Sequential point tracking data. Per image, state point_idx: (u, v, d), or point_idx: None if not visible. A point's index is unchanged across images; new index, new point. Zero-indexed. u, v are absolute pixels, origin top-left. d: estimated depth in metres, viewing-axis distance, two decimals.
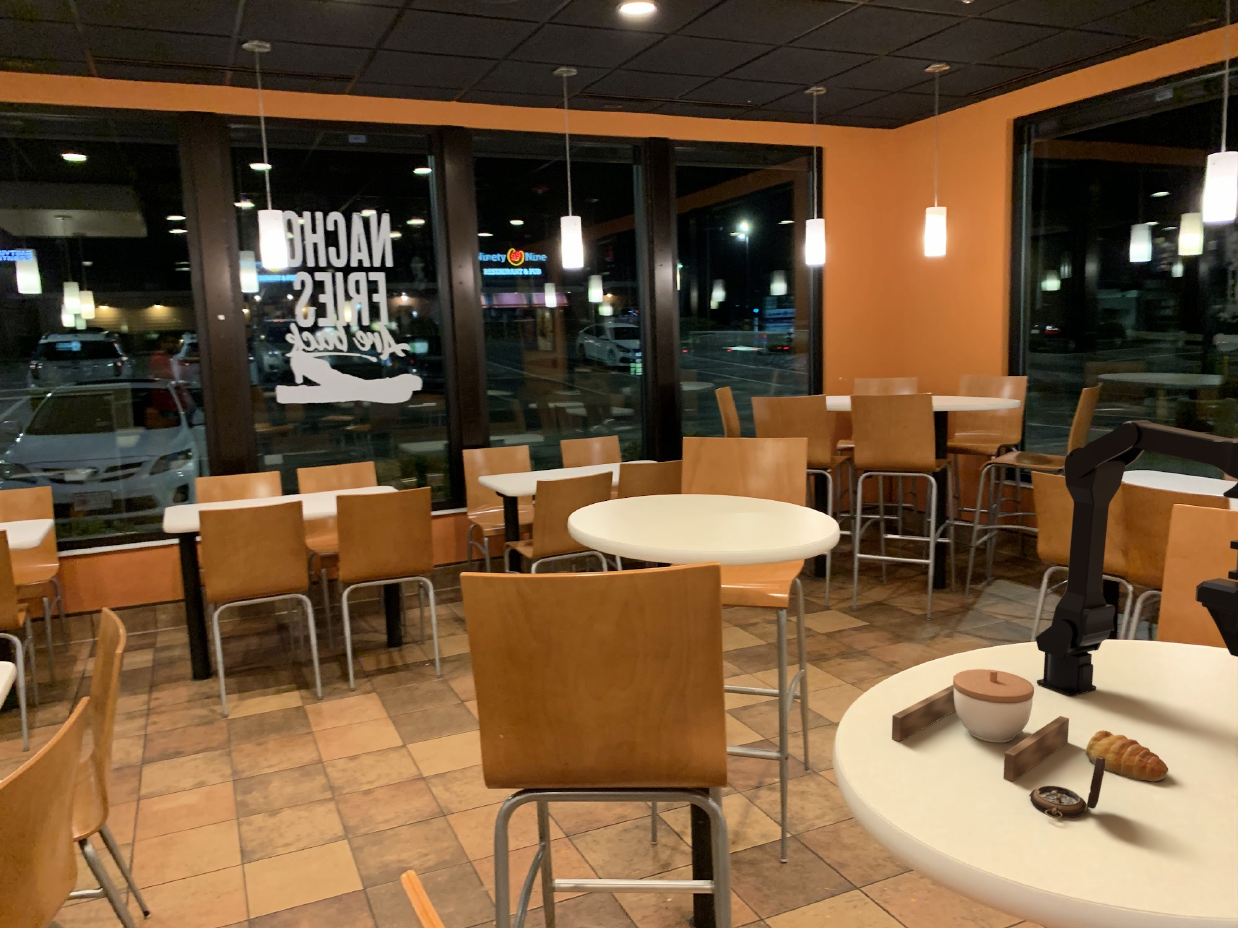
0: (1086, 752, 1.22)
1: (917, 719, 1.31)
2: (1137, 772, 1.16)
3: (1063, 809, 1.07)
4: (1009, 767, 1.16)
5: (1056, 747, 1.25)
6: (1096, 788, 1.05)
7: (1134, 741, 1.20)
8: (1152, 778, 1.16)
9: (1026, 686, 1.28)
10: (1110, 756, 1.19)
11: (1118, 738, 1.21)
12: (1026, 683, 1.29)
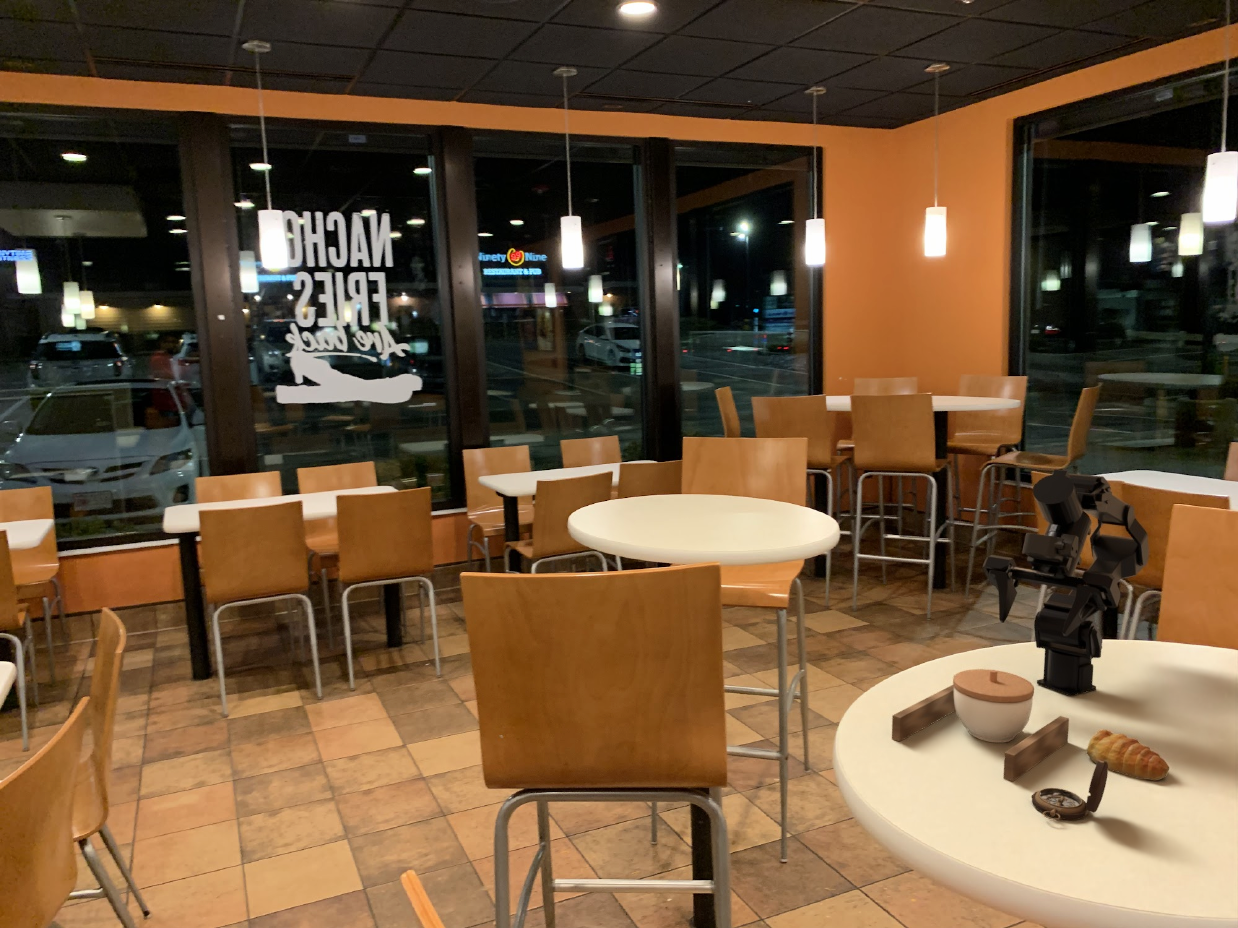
0: (1087, 751, 1.22)
1: (917, 719, 1.31)
2: (1139, 771, 1.17)
3: (1062, 811, 1.07)
4: (1009, 767, 1.16)
5: (1056, 747, 1.25)
6: (1094, 791, 1.04)
7: (1135, 740, 1.21)
8: (1153, 777, 1.16)
9: (1026, 686, 1.28)
10: (1111, 755, 1.19)
11: (1119, 737, 1.21)
12: (1026, 683, 1.29)
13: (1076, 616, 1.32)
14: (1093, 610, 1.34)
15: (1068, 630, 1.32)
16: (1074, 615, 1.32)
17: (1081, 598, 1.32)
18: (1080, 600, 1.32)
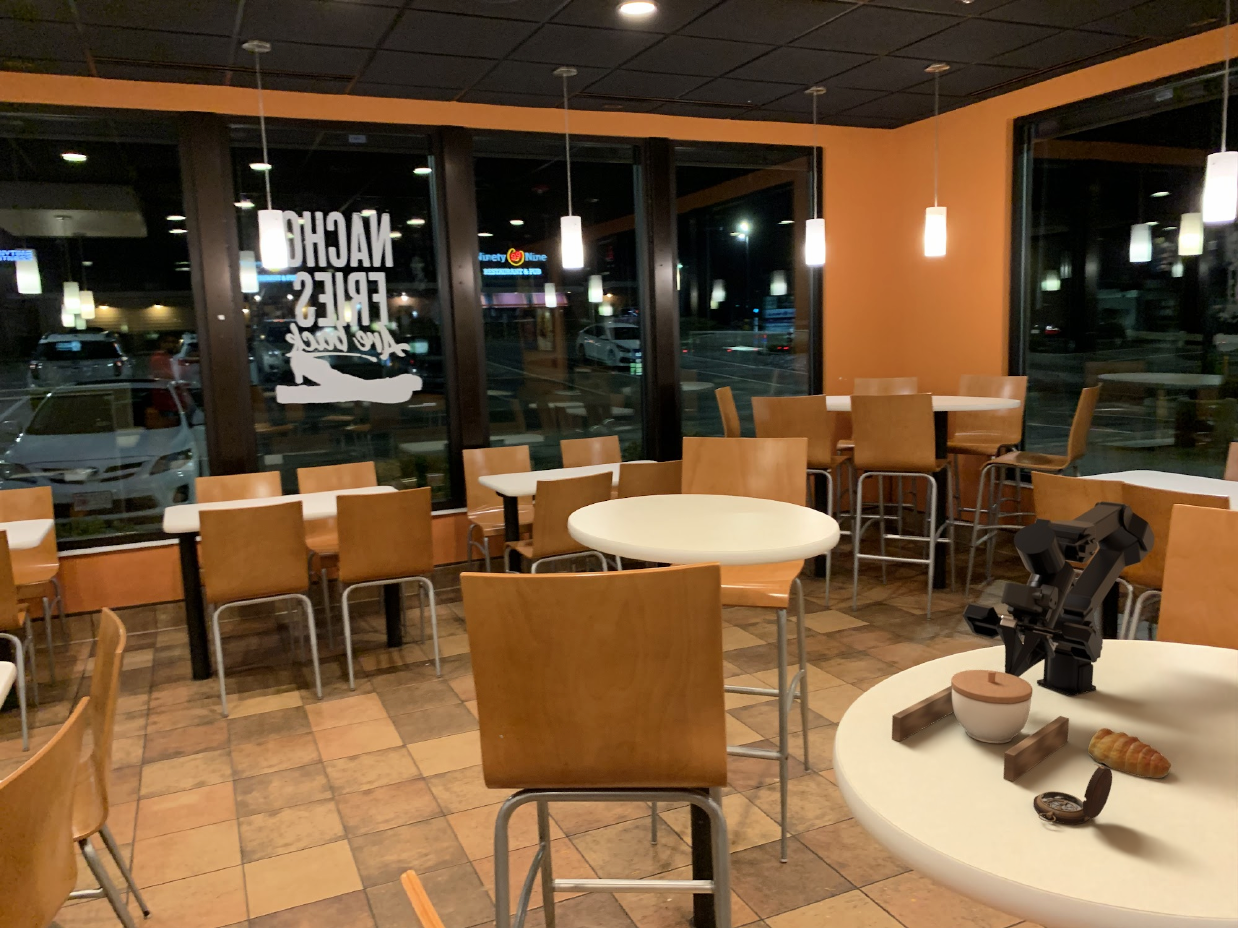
0: (1089, 750, 1.22)
1: (917, 719, 1.31)
2: (1141, 769, 1.17)
3: (1060, 814, 1.06)
4: (1009, 767, 1.16)
5: (1056, 747, 1.25)
6: (1090, 796, 1.03)
7: (1136, 738, 1.21)
8: (1156, 775, 1.16)
9: (1024, 686, 1.27)
10: (1113, 754, 1.19)
11: (1120, 736, 1.21)
12: (1024, 684, 1.28)
13: (1023, 661, 1.33)
14: (1042, 656, 1.35)
15: (1015, 675, 1.33)
16: (1021, 660, 1.33)
17: (1029, 644, 1.33)
18: (1028, 646, 1.33)
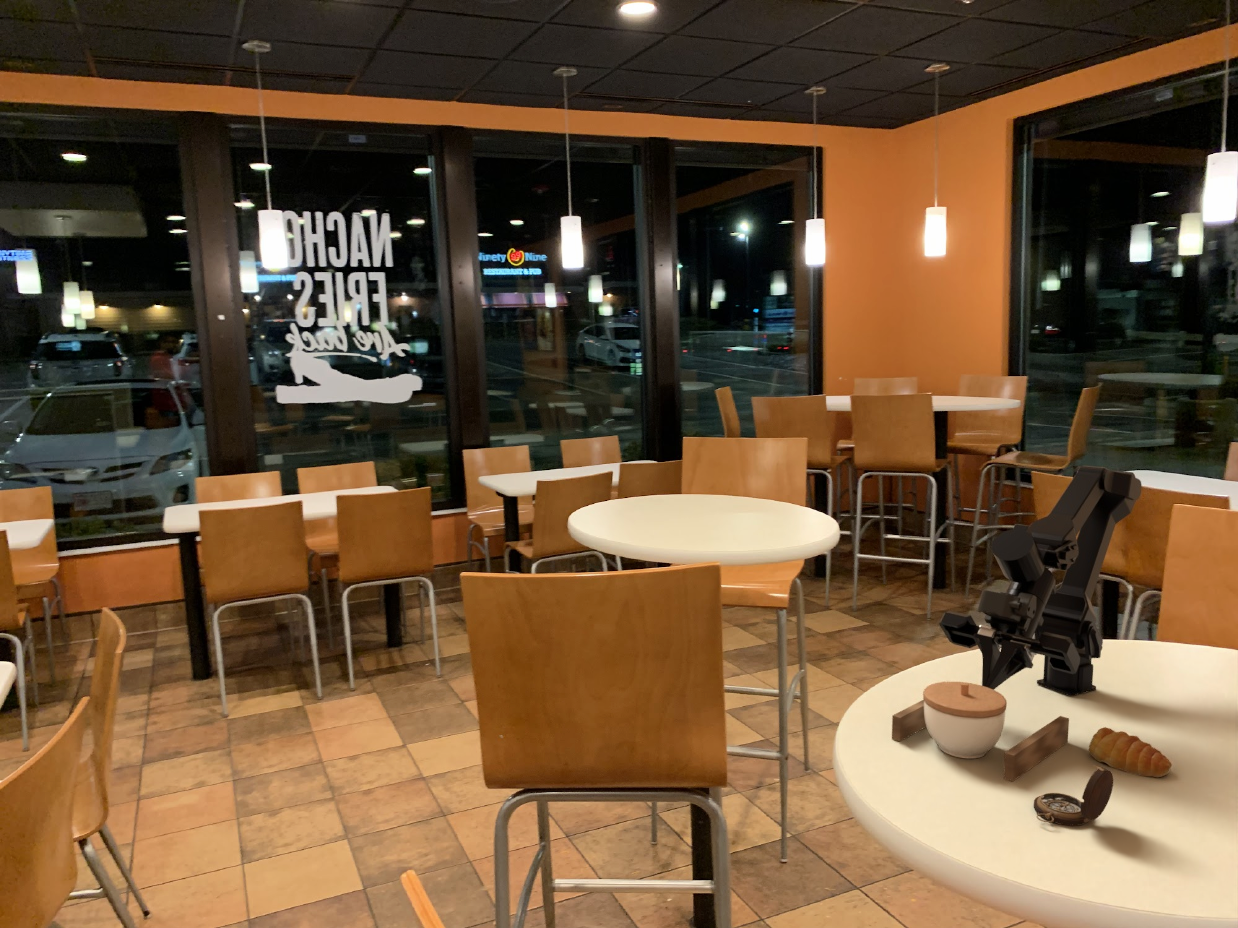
0: (1089, 750, 1.22)
1: (917, 719, 1.31)
2: (1142, 768, 1.17)
3: (1058, 815, 1.06)
4: (1009, 767, 1.16)
5: (1056, 747, 1.25)
6: (1088, 798, 1.03)
7: (1136, 737, 1.21)
8: (1156, 774, 1.17)
9: (998, 701, 1.22)
10: (1114, 753, 1.19)
11: (1120, 735, 1.22)
12: (999, 698, 1.23)
13: (1000, 672, 1.28)
14: (1020, 667, 1.30)
15: (991, 686, 1.28)
16: (997, 671, 1.28)
17: (1006, 654, 1.28)
18: (1005, 656, 1.28)
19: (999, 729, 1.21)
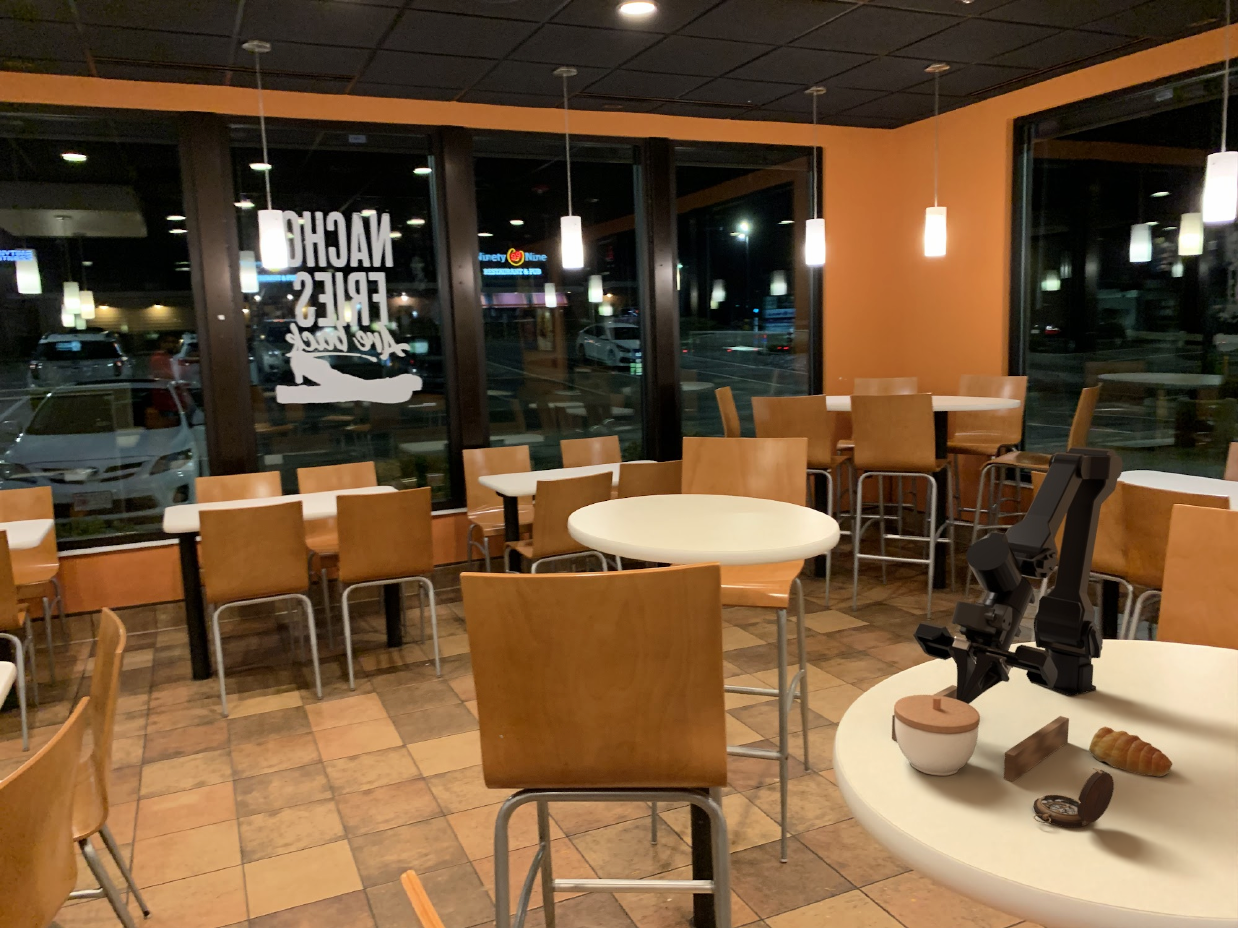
0: (1090, 749, 1.23)
1: None
2: (1143, 768, 1.17)
3: (1056, 817, 1.06)
4: (1009, 767, 1.16)
5: (1056, 747, 1.25)
6: (1084, 800, 1.02)
7: (1136, 737, 1.22)
8: (1157, 773, 1.17)
9: (970, 716, 1.17)
10: (1115, 752, 1.20)
11: (1121, 734, 1.22)
12: (972, 713, 1.18)
13: (974, 686, 1.23)
14: (995, 680, 1.25)
15: (965, 701, 1.23)
16: (972, 685, 1.23)
17: (980, 667, 1.23)
18: (979, 669, 1.24)
19: (972, 745, 1.16)
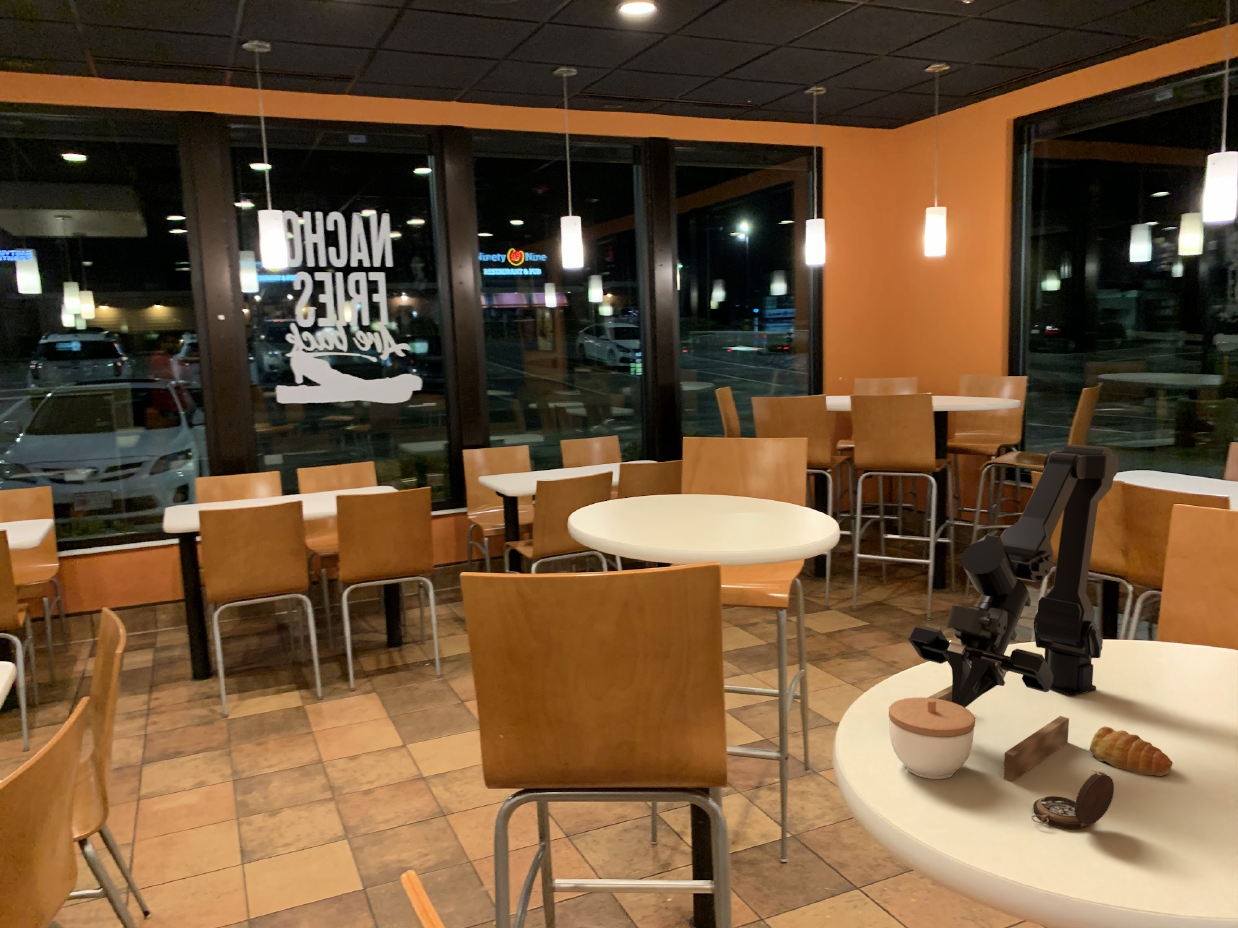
0: (1090, 749, 1.23)
1: None
2: (1143, 767, 1.18)
3: (1054, 818, 1.05)
4: (1009, 767, 1.16)
5: (1056, 747, 1.25)
6: (1081, 801, 1.02)
7: (1137, 736, 1.22)
8: (1158, 773, 1.17)
9: (966, 719, 1.16)
10: (1116, 752, 1.20)
11: (1121, 734, 1.22)
12: (967, 716, 1.17)
13: (970, 691, 1.22)
14: (991, 684, 1.24)
15: None
16: (967, 690, 1.22)
17: (976, 672, 1.23)
18: (975, 674, 1.23)
19: (967, 748, 1.16)
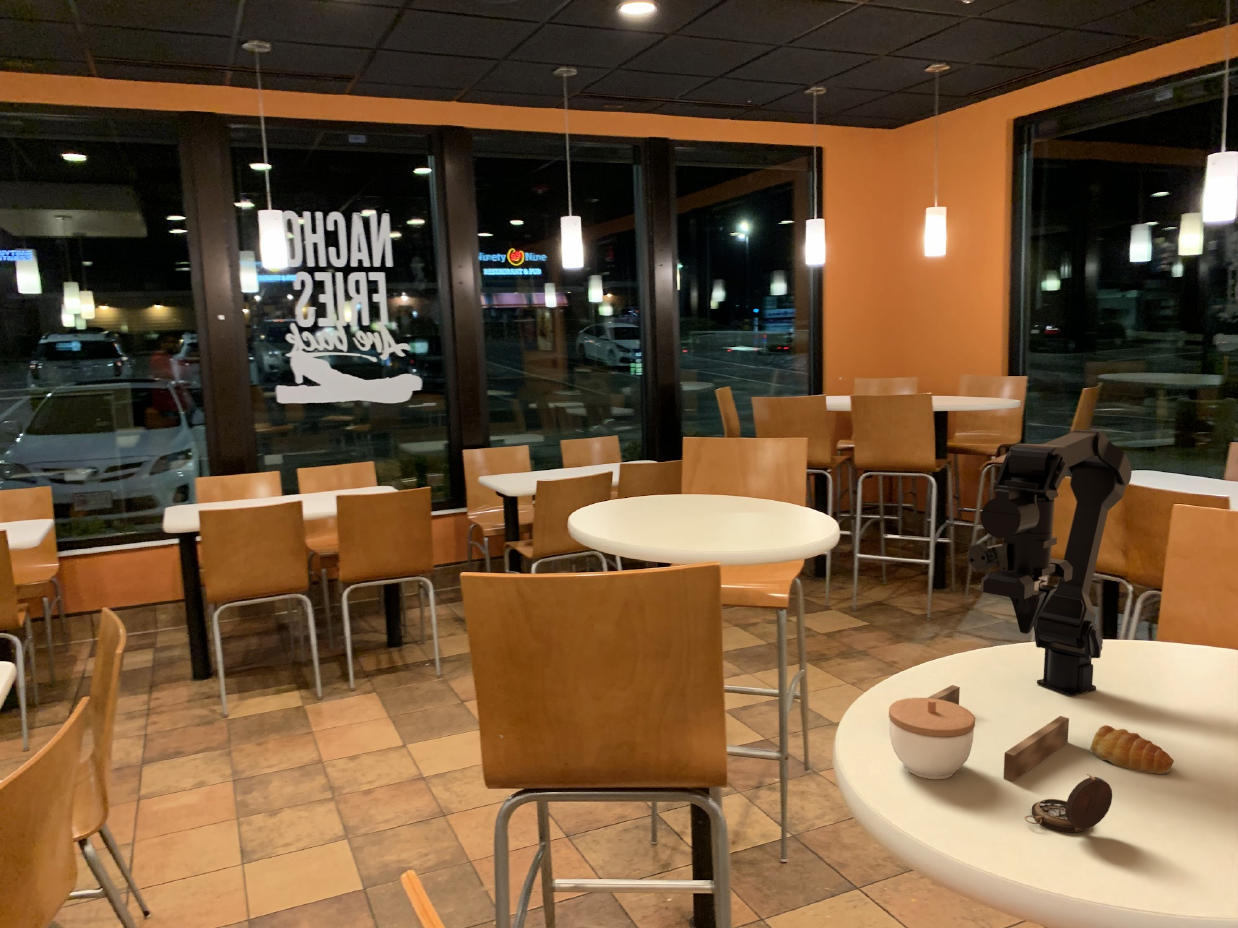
0: (1092, 748, 1.23)
1: None
2: (1145, 766, 1.18)
3: (1048, 820, 1.05)
4: (1009, 767, 1.16)
5: (1056, 747, 1.25)
6: (1071, 804, 1.01)
7: (1137, 735, 1.22)
8: (1160, 771, 1.18)
9: (966, 719, 1.16)
10: (1117, 751, 1.20)
11: (1122, 732, 1.23)
12: (967, 716, 1.17)
13: (1017, 614, 1.35)
14: (1036, 599, 1.31)
15: (1022, 628, 1.35)
16: (1015, 613, 1.35)
17: None
18: None
19: (967, 749, 1.16)
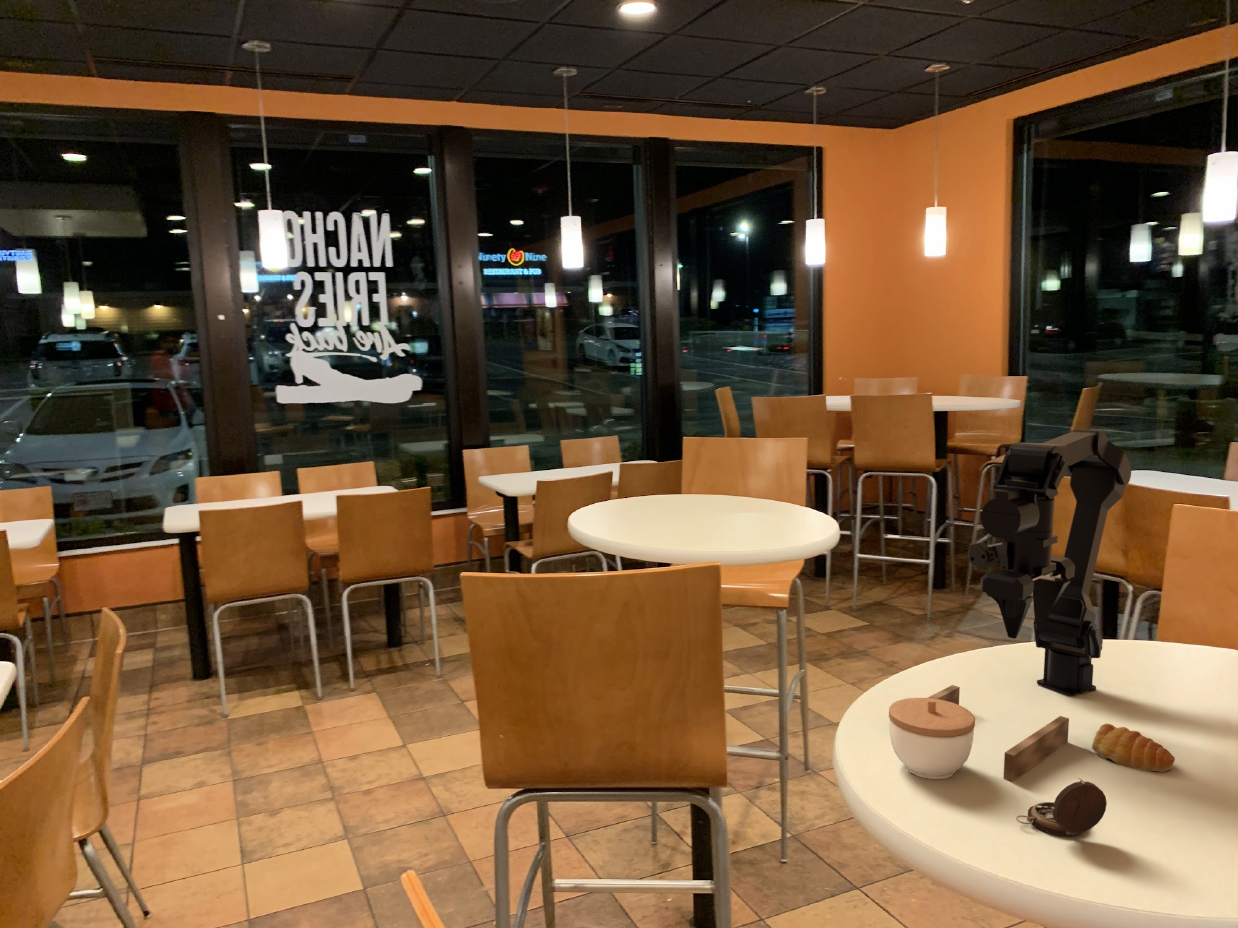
0: (1093, 746, 1.23)
1: None
2: (1147, 763, 1.19)
3: (1040, 821, 1.05)
4: (1009, 767, 1.16)
5: (1056, 747, 1.25)
6: (1057, 806, 1.01)
7: (1138, 733, 1.23)
8: (1162, 769, 1.18)
9: (966, 719, 1.17)
10: (1119, 749, 1.21)
11: (1123, 731, 1.23)
12: (967, 716, 1.17)
13: (1004, 618, 1.32)
14: (1023, 604, 1.29)
15: (1010, 633, 1.32)
16: (1003, 618, 1.32)
17: None
18: None
19: (967, 749, 1.16)
